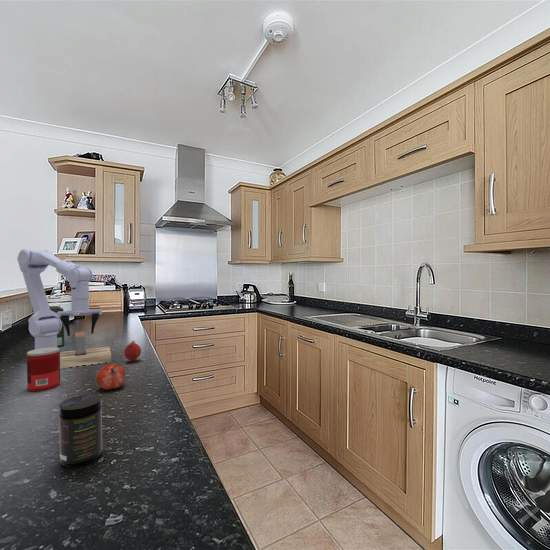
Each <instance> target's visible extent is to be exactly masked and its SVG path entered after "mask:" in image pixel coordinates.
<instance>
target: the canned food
mask: <svg viewBox="0 0 550 550" xmlns="http://www.w3.org/2000/svg"><path fill="white" fill-rule="evenodd" d="M60 352H61V350H60V348H59V347H48V348H40V349H35V348H34V349H32V350H29V351H27V353H26V388H27V389H28V391H30V392H42V391H41V390H43V391H47V389H48V390H51V389H54V388H56V387H58V386H59V385H60V383H61V369H60Z"/></svg>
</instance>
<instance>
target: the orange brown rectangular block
mask: <svg viewBox="0 0 550 550" xmlns="http://www.w3.org/2000/svg"><path fill="white" fill-rule="evenodd" d="M74 335H75V336H74V338H75V351H76V354H81V353H85V349H86V331H85V330H84V331H75V334H74Z"/></svg>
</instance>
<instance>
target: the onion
mask: <svg viewBox="0 0 550 550" xmlns="http://www.w3.org/2000/svg"><path fill="white" fill-rule="evenodd" d="M123 353H124V357H125V358H126V359H127V360H128V361H130V362H133V361H134V362H135V361H136V360H137V359H138V358H140V356H141V354H142V347H140V345H139V344H137V343H136V341H135V340H131V342H130V343H129V344H128V345H127V346H126V347H125V349H124V352H123Z"/></svg>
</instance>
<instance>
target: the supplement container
mask: <svg viewBox="0 0 550 550" xmlns="http://www.w3.org/2000/svg"><path fill="white" fill-rule="evenodd" d="M58 420H59V421H58V422H59V423H58V424H59V425H58V426H59V462H60V464H61V465H62V466H63V467H65V466H66V468H77V467H76V466H79V467H82V466H81V465H83V466H85V464H86V465H88V464H90V463H92V462H94V461H95V460H97V459H98V458H99V457H100V455H101V454H102V452H103V397H102V396H101V395H99V394H82V395H77V396H73V397H71V398H68V399H66V400H64V401H62V402H61V403H59V405H58ZM97 457H98V458H97ZM93 460H94V461H93ZM89 462H90V463H89ZM87 463H88V464H87Z"/></svg>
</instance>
